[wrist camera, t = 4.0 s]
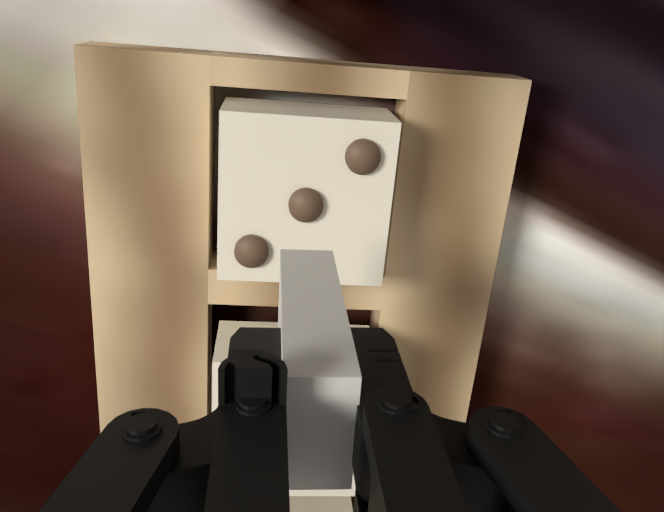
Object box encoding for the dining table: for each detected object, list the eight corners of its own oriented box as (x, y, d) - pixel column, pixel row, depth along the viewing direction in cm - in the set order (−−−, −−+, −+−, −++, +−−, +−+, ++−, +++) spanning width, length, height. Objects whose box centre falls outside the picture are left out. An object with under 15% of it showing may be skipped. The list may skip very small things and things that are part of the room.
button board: (121, 568, 33) (112, 603, 31) (89, 41, 23) (73, 44, 21) (423, 566, 34) (431, 598, 32) (512, 74, 25) (532, 80, 23)
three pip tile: (223, 248, 25) (216, 282, 22) (226, 96, 23) (218, 111, 20) (370, 254, 26) (382, 288, 23) (386, 107, 24) (402, 123, 21)
